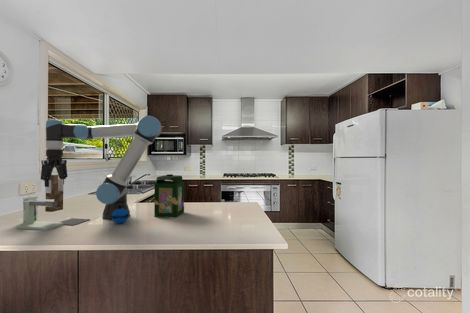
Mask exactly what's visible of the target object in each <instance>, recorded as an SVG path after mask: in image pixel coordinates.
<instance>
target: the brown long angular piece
mask: <svg viewBox="0 0 470 313" xmlns="http://www.w3.org/2000/svg"><path fill="white" fill-rule="evenodd" d="M58 179H59V176H58V174H51V177H50V180H49V181H51V193H45V200H51V201H52V200H53V202H54V201H57V206H56V207H52V206H44V207H45V210H44V212H46V213H53V212H57V211H58V212H59V211H62V210H64V190H63V191H58Z"/></svg>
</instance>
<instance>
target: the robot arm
mask: <svg viewBox="0 0 470 313" xmlns="http://www.w3.org/2000/svg"><path fill="white" fill-rule="evenodd" d="M45 122H46V123H45V156H46V159H44V160H43V159H41V172H40V180H42V181H44V187H45V191H44V192H45V193H44V194H46V193H51V181H50V177H51V175H53V170H54V169H56V173H57V175H58V191H63V192H64V185H65V180H66V179H67V178H68V170H67V168H68V167H67V162H68V161H67V159H63V157H64V150H63V148H64V139H78V140H83V141H89V140H95V139H111V138H113V139H114V138H127V137H129V138H130V137H133V139H132V140H131V142H130V143H129V145H128V147H127V148H126V150H125V151H124V154H123V155H122V157H121V158H120V160H119V162H118V163H117V165H116V166H115V168H114V170H112V173H111V174H107V175H106V177H105V178H104V180H103V182H102V183H101V184H100V185H98V187H97V188H96V192H95V196H96V199H97V200H98V202H100V203H102V204H103V205H105V206H104V208H103V212H102V219H105V220H112V218H111V215H112V213H113V211H114V210H115V209H117V208H119V205H121V206H122V207H121V208H124V209H126V210H127V212H128V213H129V216H128V217H130V216H131V211H130V209H129V204H128V182H127V181H128V180H129V178H130V177H131V175H132V172H133V171H134V169H135V168H136V166H137V165H138V163H139V161H140V160H141V158H142V156H143V154H144V153H145V152H146V150H147V148H148V147H149V146H150V145H152V144H153V143H154V142H155V140H156V139H157V137H159V136H160V135H161V134H162V130H163V125H162V123H161V122H160V120H159V119H158V118H156V117H154V116H152V115H144V116H142V117H141V118H140V119H139V120H138V122H137V123H129V124H128V123H127V124H111V125H109V124H108V125H93V126H92V125H91V126H90V125H89V126H88V125H86V124H80V123H78V124H74V123H71V124H70V123H67V124H66V123H64V121H63V120H60V119H48V120H46V121H45Z"/></svg>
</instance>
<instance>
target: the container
mask: <svg viewBox="0 0 470 313" xmlns="http://www.w3.org/2000/svg"><path fill="white" fill-rule="evenodd" d="M155 180H156V181H155V183H154V196H153V198H154V209H153V210H154V218H155V217H156V218H174V219H175V218H178V217H179V216H181V215H183V214H184V213H185V181H183V176H182V175H174V174H168V173H167V174H165V175H161V176H160V175H159V176H157V177H156V179H155Z"/></svg>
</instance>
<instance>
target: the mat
mask: <svg viewBox="0 0 470 313" xmlns="http://www.w3.org/2000/svg"><path fill="white" fill-rule="evenodd" d="M90 220H91V219H89V218H88V219H87V218H73V217H71V218H68V219H65V220H62V221H59V222H60V223H64V225H63V226H72V227H73V226H77V225H80V224H83V223H86V222H88V221H89V222H90Z"/></svg>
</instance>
